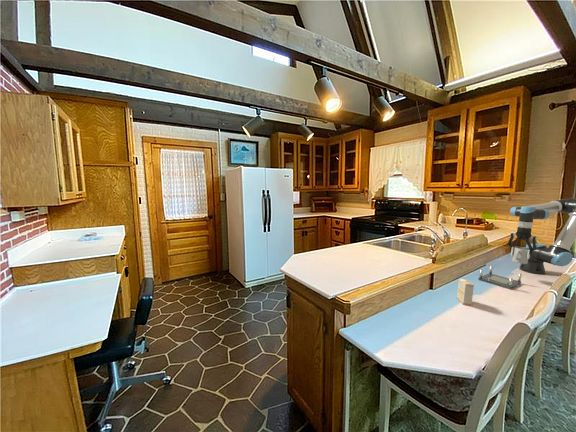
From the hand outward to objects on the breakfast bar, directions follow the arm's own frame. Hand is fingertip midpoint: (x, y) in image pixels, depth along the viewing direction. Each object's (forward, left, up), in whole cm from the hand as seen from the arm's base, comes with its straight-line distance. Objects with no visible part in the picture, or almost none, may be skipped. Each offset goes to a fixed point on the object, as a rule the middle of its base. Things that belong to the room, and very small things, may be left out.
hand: (519, 256), depth 182 cm
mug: (0, 0, -5) cm, 5 cm away
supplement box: (+75, -3, -18) cm, 77 cm away
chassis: (+18, -4, -17) cm, 26 cm away
